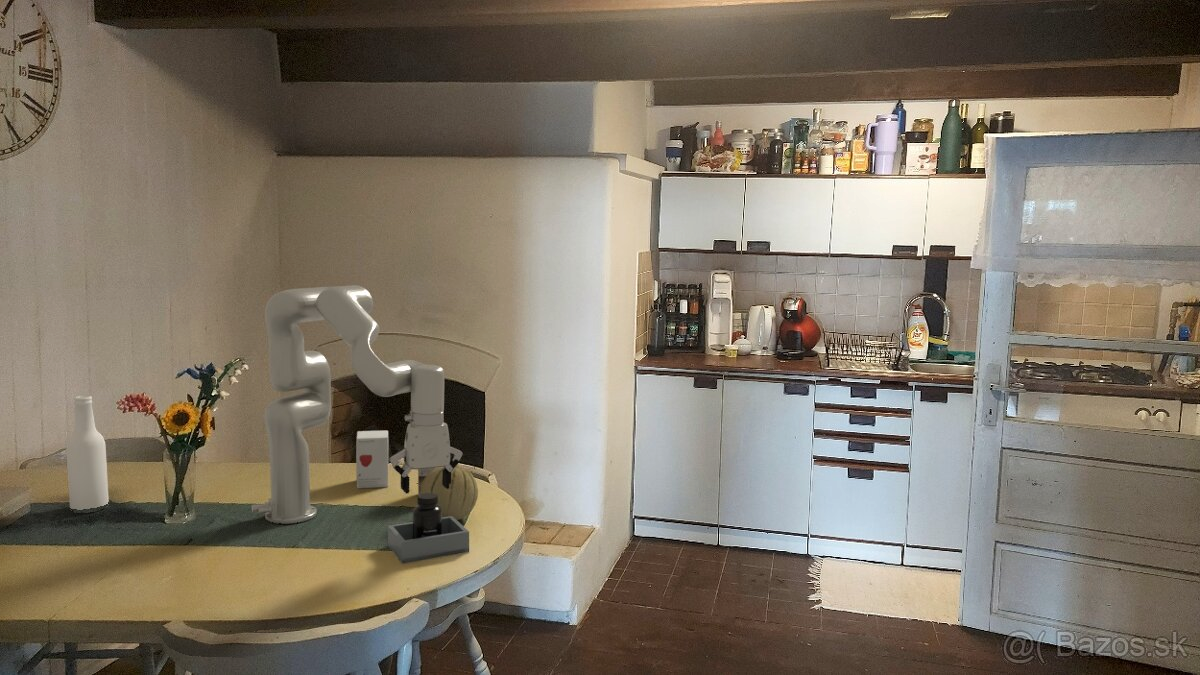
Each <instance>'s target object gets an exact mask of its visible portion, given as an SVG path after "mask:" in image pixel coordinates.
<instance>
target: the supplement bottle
mask: <svg viewBox="0 0 1200 675" xmlns="http://www.w3.org/2000/svg"><path fill="white" fill-rule="evenodd" d="M416 497H417V498H416V499H417V500H416V504H417V505H416V506H415V507H414V508H413V510H412V522H413V539H417V538H423V537H429V536H435V535H442V509H441V507H440V506H438V505H437V504H438V495H437V494H434V493H423V494H420V495H418V494H417V496H416Z"/></svg>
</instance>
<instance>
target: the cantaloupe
mask: <svg viewBox="0 0 1200 675" xmlns="http://www.w3.org/2000/svg"><path fill="white" fill-rule="evenodd" d="M444 468H445V467H444V466H443V467H436V468H434V469H433V470H431V471H430V472H429V473H428V474H427V476H426V477H425V479H424V480H423V482H422V485H421V488H420V494H423V493H434V494H437V495H438V504H437V505H438V506H440V507H441V509H442V517H449V516H453V517H454V518H455V519H456V520H457V521H459V520H461V519H464V518H465V517H467V516H468V515H469V514H470V513H471V512H472V511H473V510H474V507H475V506H476V503H477V500H478V497H479V488H478V484H477V480H476V479H475V476H474V475H473V473H471V472H470V470H467V469H466V468H464V467H461V466H459V465H457V466H456V467H455V468H454V469H453V471H452V472H451V484H449V489H446V488H445V487H444V486H443V485H442V473H443V469H444Z"/></svg>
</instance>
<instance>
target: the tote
mask: <svg viewBox="0 0 1200 675" xmlns="http://www.w3.org/2000/svg"><path fill="white" fill-rule="evenodd" d="M387 547H388V548H389V549H390V550H391V552H393V554H394V555H395V556H396V557H397V559H398V561H400V563H401V564H407V563H414V562H421V561H426V560H432V559H437V558H443V557H449V556H454V555H460V554H465V553H466V554H467V553H470V531H469V530H468V529H467V528H466V527H465V526H464V525H463V524H462V523H461V522H460V521H459V520H456V519H455V518H454V517H453V516H449V517H442V535H435V536H429V537H423V538H417V539H413V521H410V522H409V521H408V522H403V523H397V524H392V525H391V524H389V525H387Z"/></svg>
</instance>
